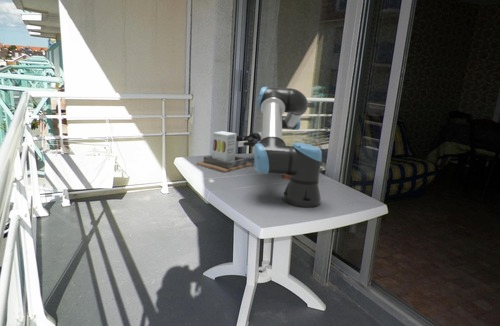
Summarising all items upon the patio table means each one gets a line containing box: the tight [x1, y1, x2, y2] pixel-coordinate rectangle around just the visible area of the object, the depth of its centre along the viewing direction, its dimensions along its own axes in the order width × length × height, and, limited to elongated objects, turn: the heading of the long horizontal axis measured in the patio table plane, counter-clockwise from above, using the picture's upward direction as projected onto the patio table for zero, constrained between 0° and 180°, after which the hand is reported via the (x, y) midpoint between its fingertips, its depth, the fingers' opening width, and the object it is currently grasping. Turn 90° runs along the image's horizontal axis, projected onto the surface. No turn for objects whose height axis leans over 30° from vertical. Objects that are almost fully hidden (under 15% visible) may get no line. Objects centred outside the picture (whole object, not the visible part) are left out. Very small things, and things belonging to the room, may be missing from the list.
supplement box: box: [211, 130, 238, 162], centre depth 185 cm, size 10×9×17 cm
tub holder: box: [195, 154, 254, 174], centre depth 188 cm, size 24×20×4 cm
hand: (230, 141), depth 188 cm, fingers open, 13 cm apart
